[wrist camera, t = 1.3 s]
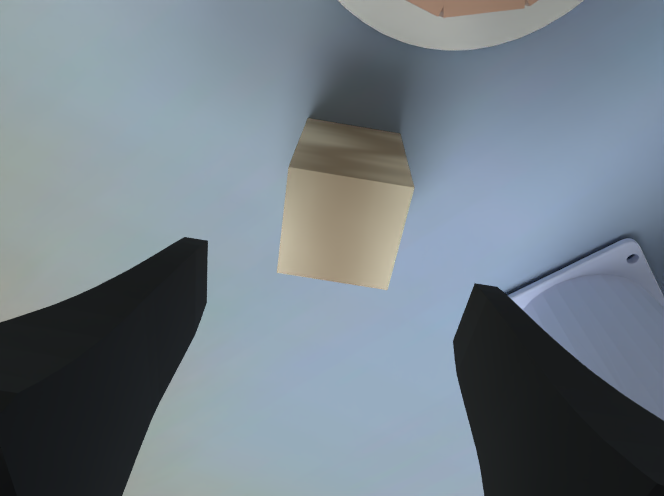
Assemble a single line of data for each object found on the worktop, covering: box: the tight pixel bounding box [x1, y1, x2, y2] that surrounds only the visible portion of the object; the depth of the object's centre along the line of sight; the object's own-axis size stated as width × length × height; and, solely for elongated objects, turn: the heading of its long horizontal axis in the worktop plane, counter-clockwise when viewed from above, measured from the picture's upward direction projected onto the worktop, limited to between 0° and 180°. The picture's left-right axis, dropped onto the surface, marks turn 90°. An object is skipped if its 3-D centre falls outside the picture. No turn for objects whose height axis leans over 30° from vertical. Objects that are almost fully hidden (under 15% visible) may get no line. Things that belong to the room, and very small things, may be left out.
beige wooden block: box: [277, 118, 414, 290], centre depth 18 cm, size 4×4×6 cm
